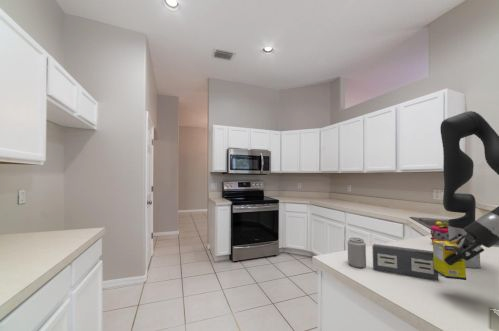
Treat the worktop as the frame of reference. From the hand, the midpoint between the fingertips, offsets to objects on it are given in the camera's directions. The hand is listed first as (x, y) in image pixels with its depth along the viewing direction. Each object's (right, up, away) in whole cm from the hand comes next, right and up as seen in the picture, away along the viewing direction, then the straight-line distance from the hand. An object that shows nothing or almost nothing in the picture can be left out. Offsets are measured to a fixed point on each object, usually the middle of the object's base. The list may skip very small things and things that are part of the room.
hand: (443, 258), depth 72 cm
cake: (+47, -15, +49) cm, 70 cm away
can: (-18, -14, +23) cm, 32 cm away
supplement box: (+1, -6, -1) cm, 6 cm away
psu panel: (-3, -13, +15) cm, 20 cm away
